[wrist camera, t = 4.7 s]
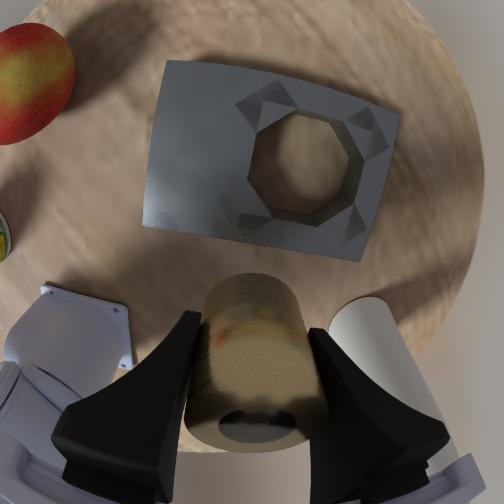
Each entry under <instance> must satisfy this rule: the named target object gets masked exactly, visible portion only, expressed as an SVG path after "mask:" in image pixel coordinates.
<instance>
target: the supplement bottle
mask: <svg viewBox="0 0 504 504" xmlns="http://www.w3.org/2000/svg"><path fill="white" fill-rule="evenodd" d="M10 248H11V237H10V231H9V228H8V225H7V222H6V220H5V218H4V217H3V215H2V213H1V212H0V263H1V262H2V261H3V260H4V259H6V258H7V256H8V255H9V252H10Z"/></svg>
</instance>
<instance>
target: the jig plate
mask: <svg viewBox="0 0 504 504" xmlns="http://www.w3.org/2000/svg"><path fill="white" fill-rule="evenodd" d="M289 113H294V114H298V115H302V116H306V117H310V118H314V119H317V120H321V121H324V122H327V123H330V125H331V126H332V128H333V130H334V131H335V133H336V135H337V136H338V138H339V140H340V142H341V143H342V145H343V147H344V149H345V150H346V152H347V154H348V156H349V162H348V166H347V170H346V174H345V178H344V182H343V186H342V189H341V193H340V195H339V196H338V197H336V198H334V199H333V200H331V201H330V202H328V203H327V204H325V205H323V206H322V207H320V208H319V209H317V210H315V211H314V212H312V213H311V214H309V215H303V214H298V213H293V212H288V211H283V210H278V209H273V208H269V207H268V205H267V204H266V202H265V201H264V199H263V198H262V196H261V195H260V194H259V192H258V191H257V189H256V188H255V186H254V185H253V183H252V182H251V181H250V179H249V178H248V173H249V168H250V163H251V158H252V153H253V148H254V144H255V139H256V134H257V133H258V132H259V131H261V130H262V129H264V128H266V127H267V126H269V125H271V124H272V123H274V122H275V121H277V120H279V119H280V118H282V117H284V116H286V115H287V114H289ZM399 119H400V115H398V114H396V113H394V112H392V111H389V110H387V109H385V108H383V107H380V106H378V105H375V104H373V103H370V102H368V101H365V100H363V99H360V98H357V97H355V96H352V95H349V94H346V93H343V92H341V91H338V90H335V89H331V88H328V87H325V86H322V85H318V84H315V83H312V82H308V81H304V80H301V79H297V78H293V77H289V76H285V75H280V74H276V73H271V72H266V71H261V70H256V69H250V68H244V67H238V66H231V65H224V64H215V63H206V62H195V61H179V60H167V62H166V66H165V70H164V75H163V79H162V83H161V88H160V93H159V97H158V102H157V108H156V113H155V119H154V124H153V130H152V137H151V143H150V150H149V158H148V166H147V174H146V184H145V195H144V207H143V222H142V226H146V227H153V228H159V229H165V230H171V231H178V232H184V233H190V234H196V235H202V236H208V237H214V238H220V239H226V240H232V241H238V242H244V243H250V244H256V245H262V246H268V247H274V248H280V249H286V250H292V251H298V252H303V253H309V254H315V255H321V256H326V257H332V258H338V259H344V260H349V261H355V262H360V261H361V258H362V255H363V253H364V250H365V247H366V244H367V241H368V238H369V235H370V232H371V229H372V226H373V223H374V219H375V216H376V213H377V210H378V206H379V203H380V199H381V196H382V192H383V189H384V185H385V181H386V177H387V173H388V169H389V165H390V161H391V157H392V153H393V148H394V144H395V139H396V134H397V129H398V124H399Z"/></svg>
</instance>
